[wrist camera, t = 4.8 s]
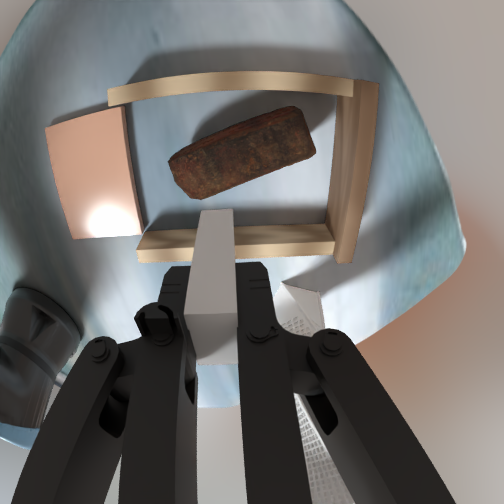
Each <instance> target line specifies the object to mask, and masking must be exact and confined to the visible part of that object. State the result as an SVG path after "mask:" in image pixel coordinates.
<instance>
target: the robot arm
mask: <svg viewBox="0 0 504 504" xmlns="http://www.w3.org/2000/svg"><path fill="white" fill-rule="evenodd" d="M134 320H135V322H136V324H137V326H138V329H139V331H140V333H141V335H142V336H141V337H140V338H138V339H135V340H132V341H128V342H124V343H120V344H117V343H116V341H115V340H114V339H112V338H110V337H105V336H101V337H97V338H94V339H93V340H91V341H90V342H89V343H88V344H87V345H86V346H85V347H84V349H83V350H82V352H81V354H80V355H79V357H78V359H77V360H76V362H75V364H74V366H73V367H72V369H71V371H70V372H69V374H68V376H67V378H66V380H65V381H64V383H63V385H62V387H61V389H60V391H59V393H58V394H57V396H56V398H55V400H54V402H53V404H52V406H51V408H50V410H49V412H48V414H47V416H46V418H45V420H44V416H45V413H46V409H47V405H48V402H49V398H50V395H51V392H52V389H53V385H54V382H55V379H56V376H57V374H58V373H59V372H60V371H61V369H62V368H63V367H64V365H65V364H66V363H67V361H68V360H69V358H71V357H73V355H74V354H75V353H76V351H77V348H78V346H79V343H80V333H79V331H78V328H77V327H76V325H75V323H74V322H73V320H72V319H71V318H70V317H69V315H68V314H67V313H66V312H65V311H64V310H63V309H62V308H61V307H60V306H58V305H57V304H56V303H55V302H53V301H52V300H51V299H49V298H48V297H46V296H45V295H43V294H41V293H39V292H37V291H35V290H32V289H29V288H17V289H15V290H14V291H13V292H12V294H11V295H10V297H9V298H8V300H7V302H6V308H5V312H4V315H3V320H2V324H1V330H0V438H1V439H3V440H5V441H7V442H9V443H12V444H14V445H16V446H19V447H21V448H24V449H31V450H30V453H29V455H28V457H27V460H26V463H25V465H24V468H23V470H22V473H21V475H20V478H19V481H18V484H17V487H16V490H15V493H14V496H13V499H12V502H11V504H104V502H105V499H106V496H107V493H108V490H109V487H110V484H111V481H112V479H113V476H114V473H115V470H116V467H117V465H118V462H119V460H120V457H121V454H122V458H121V469H120V481H119V500H118V504H198V501H197V393H198V377H197V372H196V360H197V363H198V365H228V364H238V371H239V389H240V405H241V422H242V436H243V437H242V438H243V451H244V466H245V478H246V491H247V503H248V504H312V498H311V491H310V485H309V479H308V473H307V467H306V461H305V455H304V449H303V443H302V437H301V431H300V426H299V420H298V414H297V409H296V403H295V397H294V393H295V394H299V395H300V397H301V399H302V401H303V403H304V405H305V407H306V409H307V411H308V413H309V415H310V417H311V419H312V421H313V423H314V425H315V427H316V429H317V431H318V433H319V435H320V437H321V439H322V441H323V443H324V445H325V447H326V449H327V451H328V453H329V455H330V457H331V458H332V460H333V462H334V464H335V466H336V468H337V470H338V472H339V474H340V476H341V478H342V479H343V481H344V483H345V485H346V487H347V489H348V491H349V493H350V495H351V496H352V498H353V500H354V502H355V504H456V503H455V501H454V499H453V498H452V496H451V494H450V492H449V491H448V489H447V487H446V485H445V484H444V482H443V480H442V479H441V477H440V475H439V474H438V472H437V470H436V469H435V467H434V465H433V464H432V462H431V460H430V459H429V457H428V456H427V454H426V452H425V451H424V449H423V448H422V446H421V444H420V443H419V441H418V440H417V438H416V437H415V435H414V433H413V432H412V430H411V429H410V427H409V425H408V424H407V423H406V421H405V419H404V418H403V417H402V415H401V413H400V411H399V410H398V408H397V407H396V405H395V404H394V402H393V401H392V399H391V398H390V396H389V395H388V393H387V392H386V391H385V389H384V387H383V386H382V384H381V383H380V381H379V380H378V378H377V377H376V375H375V374H374V372H373V371H372V369H371V368H370V367H369V365H368V364H367V362H366V361H365V359H364V358H363V356H362V355H361V353H360V352H359V351H358V349H357V348H356V346H355V345H354V343H353V342H352V340H351V339H350V338H349V337H348V336H347V335H346V334H345V333H343V332H341V331H339V330H336V329H330V328H328V329H322V330H319V331H318V332H316V333H314V334H313V336H312V337H309V336H303V335H298V334H294V333H291V332H289V331H287V330H285V329H284V328H283V327H282V326H281V325H280V324H279V322H278V320H277V318H276V313H275V308H274V302H273V297H272V292H271V286H270V281H269V276H268V271H267V269H266V267H265V266H264V265H263V264H262V263H261V262H242V263H235V244H234V223H233V209H218V210H201V214H200V219H199V225H198V230H197V235H196V241H195V246H194V252H193V257H192V263H191V266H172V267H171V268H170V269H169V270H168V271H167V273H166V274H165V275H164V279H163V282H162V286H161V290H160V294H159V298H158V302H154V303H150V304H148V305H145V306H143V307H142V308H141V309H140V310H139V311H138V312H137V313H136V315H135V317H134ZM43 421H44V422H43Z"/></svg>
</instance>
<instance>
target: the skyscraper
mask: <svg viewBox="0 0 504 504" xmlns="http://www.w3.org/2000/svg"><path fill="white" fill-rule="evenodd" d="M280 285H281V286H280V287H279V289H278V291H277V292H276V294H275V296H274V297H273V302H274V308H275V313H276V318H277V320H278V322H279V324H280V325H281V326H282V327H283V328H284V329H285V330H287V331H289V332H291V333H294V334H298V335H303V336H309V337H312V336H313V334H314V333H316V332H318V331H319V330H322V329H325V323H324V316H323V310H322V304H321V298H320V292H319V291H317V292H314V291H310V290H306V289H302V288H298V287H294V286H290V285H286V284H284V283H283V282H281V283H280ZM294 397H295V403H296V409H297V414H298V420H299V426H300V431H301V437H302V443H303V449H304V455H305V461H306V467H307V473H308V479H309V485H310V491H311V498H312V504H353V503H355V502H354V500H353V498H352V496H351V495H350V493H349V491H348V489H347V487H346V485H345V483H344V481H343V479H342V478H341V476H340V474H339V472H338V470H337V468H336V466H335V464H334V462H333V460H332V458H331V457H330V455H329V453H328V451H327V449H326V447H325V445H324V443H323V441H322V439H321V437H320V435H319V433H318V431H317V429H316V427H315V425H314V423H313V421H312V419H311V417H310V415H309V413H308V411H307V409H306V407H305V405H304V403H303V401H302V399H301V397H300V395H299V394H295V393H294Z"/></svg>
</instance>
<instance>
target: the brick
mask: <svg viewBox="0 0 504 504" xmlns="http://www.w3.org/2000/svg"><path fill="white" fill-rule="evenodd" d="M314 154H316V148H315V146H314V143H313V141H312V138H311V135H310V132H309V130H308V127H307V124H306V122H305V119H304V116H303V113H302V111H301V110H300V109H298V108H297V107H295V106H289V107H285V108H281V109H277V110H275V111H272V112H270V113H266V114H263V115H260V116H256V117H254V118H251V119H249V120H246V121H243V122H240V123H238V124H236V125H233V126H231V127H228V128H226V129H224V130H221V131H219V132H217V133H214V134H212V135H210V136H207V137H205V138H203V139H201V140H198V141H196V142H194V143H192V144H190V145H188V146H186V147H184V148H182V149H181V150H180V151H178V152H177V153H175V154H174V155H173V156H172V157H171V158H170V160H169V161H168V163H169V167H170V170H171V172H172V174H173V177H174V181H175V182H176V184H177V185H178V186H179V187H180V188H181V189H182V190H183V191H184V192H185V193H186V194H187V195H188V196H189V197H190V198H192V199H199V200H202V199H205V198H208V197H210V196H213V195H216V194H218V193H220V192H223V191H225V190H228V189H231V188H233V187H235V186H238V185H240V184H243V183H245V182H248V181H250V180H253V179H255V178H258V177H260V176H263V175H265V174H268V173H271V172H273V171H276V170H279V169H281V168H283V167H286V166H290V165H293V164H294V163H297V162H300V161H303V160H306V159H309V158H311V157H312V156H313V155H314Z"/></svg>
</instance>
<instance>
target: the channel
mask: <svg viewBox="0 0 504 504" xmlns="http://www.w3.org/2000/svg"><path fill="white" fill-rule="evenodd" d="M225 90H287V91H303V92H315V93H325V94H334V95H337V107H336V123H335V136H334V148H333V159H332V169H331V178H330V187H329V195H328V203H327V211H326V218H325V224H295V225H263V226H237V227H234V244H235V259H246V258H269V257H290V256H311V255H331V254H333V256H334V258H335V260H336V262H337V264H339V263H352V259H353V255H354V250H355V246H356V242H357V237H358V233H359V228H360V223H361V219H362V214H363V209H364V203H365V198H366V192H367V187H368V180H369V174H370V168H371V161H372V154H373V146H374V138H375V128H376V118H377V107H378V93H379V83H374V82H370V81H365V80H353V79H347V78H340V77H333V76H326V75H317V74H307V73H295V72H277V71H229V72H211V73H198V74H188V75H180V76H172V77H165V78H159V79H153V80H147V81H142V82H137V83H132V84H127V85H123V86H119V87H114V88H110V89H107V93H108V105H109V107H110V106H114V105H119V104H123V103H128V102H133V101H138V100H144V99H150V98H156V97H162V96H170V95H177V94H186V93H196V92H208V91H225ZM197 230H198V228H195V229H177V230H160V231H145V233H144V235H143V237H142V239H141V241H140V243H139V245H138V247H137V249H136V252H137V256H138V259H139V263H149V262H175V261H192V257H193V252H194V246H195V241H196V235H197Z"/></svg>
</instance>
